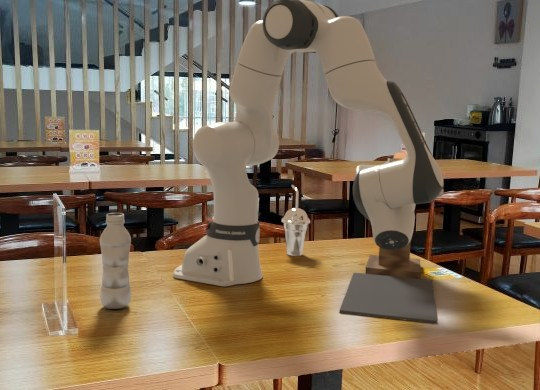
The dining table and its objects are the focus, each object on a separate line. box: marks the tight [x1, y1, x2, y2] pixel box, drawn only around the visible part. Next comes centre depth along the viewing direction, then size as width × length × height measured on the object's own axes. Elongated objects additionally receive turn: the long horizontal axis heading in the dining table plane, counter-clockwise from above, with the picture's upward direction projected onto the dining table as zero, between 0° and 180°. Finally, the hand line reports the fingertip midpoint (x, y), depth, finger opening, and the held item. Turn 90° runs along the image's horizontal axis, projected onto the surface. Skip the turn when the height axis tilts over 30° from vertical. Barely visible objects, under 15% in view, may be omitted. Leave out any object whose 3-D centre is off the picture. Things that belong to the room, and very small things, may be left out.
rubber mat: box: [338, 272, 437, 324], centre depth 138 cm, size 20×30×1 cm, turn 166°
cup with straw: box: [281, 184, 311, 257], centre depth 173 cm, size 8×9×20 cm
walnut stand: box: [365, 239, 422, 279], centre depth 158 cm, size 14×14×26 cm
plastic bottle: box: [99, 212, 133, 310], centre depth 123 cm, size 6×7×20 cm
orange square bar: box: [392, 151, 407, 161], centre depth 150 cm, size 3×20×3 cm, turn 166°
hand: (399, 161), depth 145 cm, fingers closed on orange square bar, 3 cm apart
